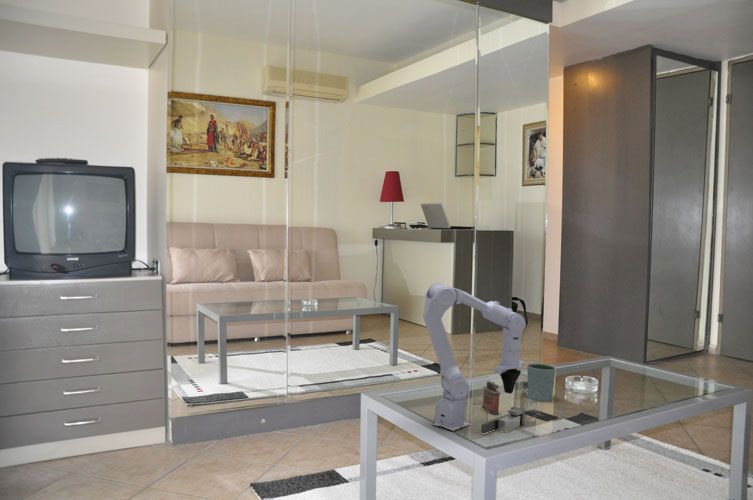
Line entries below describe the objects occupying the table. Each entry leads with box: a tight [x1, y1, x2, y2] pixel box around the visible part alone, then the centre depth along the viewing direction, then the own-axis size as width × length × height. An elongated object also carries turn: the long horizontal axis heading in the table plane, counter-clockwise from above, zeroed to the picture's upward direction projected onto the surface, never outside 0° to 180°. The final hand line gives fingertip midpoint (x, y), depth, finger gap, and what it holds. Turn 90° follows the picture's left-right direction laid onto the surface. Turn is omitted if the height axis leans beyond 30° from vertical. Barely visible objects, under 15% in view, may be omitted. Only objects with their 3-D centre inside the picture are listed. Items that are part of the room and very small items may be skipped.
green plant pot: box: [526, 362, 557, 403], centre depth 224 cm, size 10×10×12 cm
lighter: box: [481, 380, 501, 416], centre depth 204 cm, size 8×3×10 cm, turn 21°
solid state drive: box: [525, 409, 559, 422], centre depth 203 cm, size 7×10×1 cm
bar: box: [497, 414, 521, 433], centre depth 187 cm, size 9×2×4 cm, turn 138°
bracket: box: [480, 406, 526, 433], centre depth 187 cm, size 18×4×5 cm, turn 138°
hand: (508, 392), depth 192 cm, fingers closed
